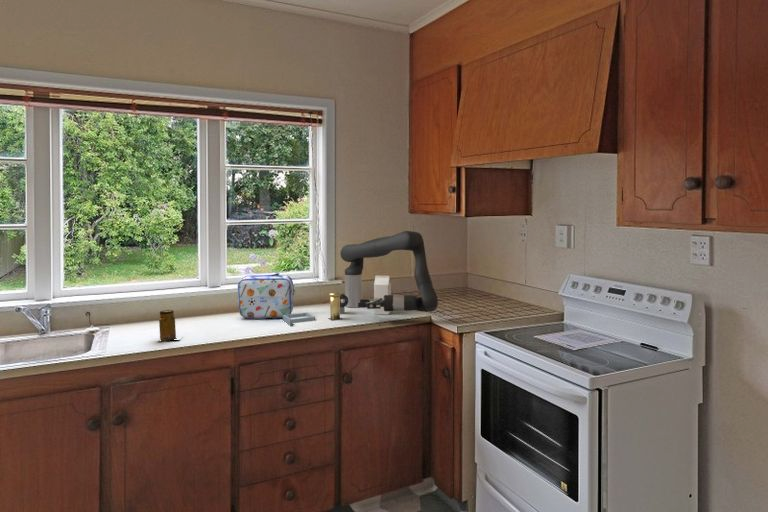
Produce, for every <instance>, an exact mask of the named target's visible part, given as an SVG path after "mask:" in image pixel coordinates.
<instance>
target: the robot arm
mask: <svg viewBox="0 0 768 512" xmlns="http://www.w3.org/2000/svg"><path fill="white" fill-rule="evenodd" d="M394 251H409V252H410V251H411V252H413V256H414V259H415V260H414V261H415V262H414V263H415V266H414V271H413V272H414V273H413V274H414V279H415V283H416V286H417V290H418V291H419V294H420V296H415V295H410V294H409V295H407V294H405V295H403V294H402V295H401V294H391V295H384V300H383V298H373V297H369V298H368V299H365V298H363V270H364V261H365V260H364V259H366V258H367V259H369V258H371V259H372V258H379V257H384V256H387V255H388V254H391V252H394ZM339 254H340V257H341V259H342V260H343V261H344V262H346V263H349V266H348V267H346V268H345V269H344V292H345V293H344V295H346V296H347V297H348V304H347V305H346V306H345V307H346V308H358V309H359V308H360V309H361V308H366V309H367V310H374V309H380V308H381V307H384V311H391V312H403V311H413V312H414V311H416V312H423V313H430V312H435V311H436V310H437V309H438V306H439V305H438V304H439V299H438V296H437V293H436V291H435V288H434V285H433V281H432V278H431V275H430V272H429V268H428V263H427V257H426V256H427V255H426V249H425V243H424V237H423V236H422V234H421V233H420V232H417V231H413V230H404V231H401V232H399V233H396V234H393V235H390V236H389V235H388V236H383V237H377V238H373V239H370V240H366V241H364V242H361V243H353V244H346V245H344V246H343V247H342V248H341V250H340V253H339Z"/></svg>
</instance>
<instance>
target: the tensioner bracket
mask: <svg viewBox="0 0 768 512" xmlns="http://www.w3.org/2000/svg"><path fill="white" fill-rule="evenodd" d="M339 293H340V315H344V314H346V313H345V312H346V310H345V307H346V305H347V304H348V297H347V296H346V295H345V293H344V292H339ZM327 319H328V320H330V321H331V322H333V321H335V320H331V317H329V318H327ZM342 320H344V319H343V318H341V317H340V319H339V320H338V321H342Z"/></svg>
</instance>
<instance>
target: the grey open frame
mask: <svg viewBox="0 0 768 512" xmlns="http://www.w3.org/2000/svg"><path fill="white" fill-rule="evenodd" d="M282 317H283V318H282V322H283V321H284V322H283V323H285V322H286V323H287V324H288V326H289V325H290V326H289V327H294V326H293V325H296V323H303V322H312V321H316V316H314V315H312V314H311V313H309V312H300V313H299V312H298V313H291V314H288V315H283V316H282ZM286 323H285V324H286ZM287 324H286V325H287Z"/></svg>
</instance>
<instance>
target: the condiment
mask: <svg viewBox="0 0 768 512" xmlns="http://www.w3.org/2000/svg"><path fill="white" fill-rule="evenodd" d="M158 321H159V322H158V323H159V326H158V327H159V340H161V341H168V342H170V341H169V340H174V339H177V338H176V337H177V332H176V317H175V314H174V310H172V309H163V310H160V312H159V319H158ZM159 340H158V341H157V343H160V342H159Z"/></svg>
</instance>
